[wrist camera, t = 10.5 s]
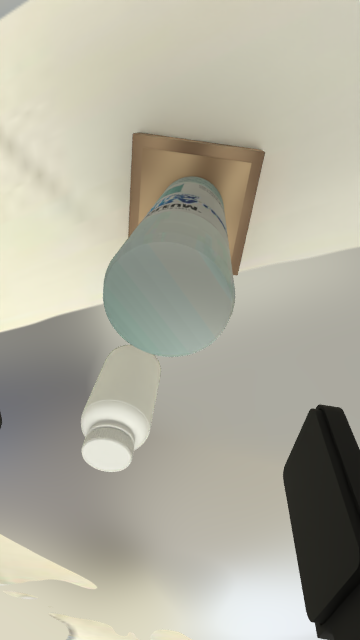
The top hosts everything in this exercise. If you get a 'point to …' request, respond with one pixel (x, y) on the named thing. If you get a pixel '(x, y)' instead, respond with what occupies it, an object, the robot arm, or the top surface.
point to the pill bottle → (120, 408)
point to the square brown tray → (197, 161)
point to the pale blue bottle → (174, 274)
